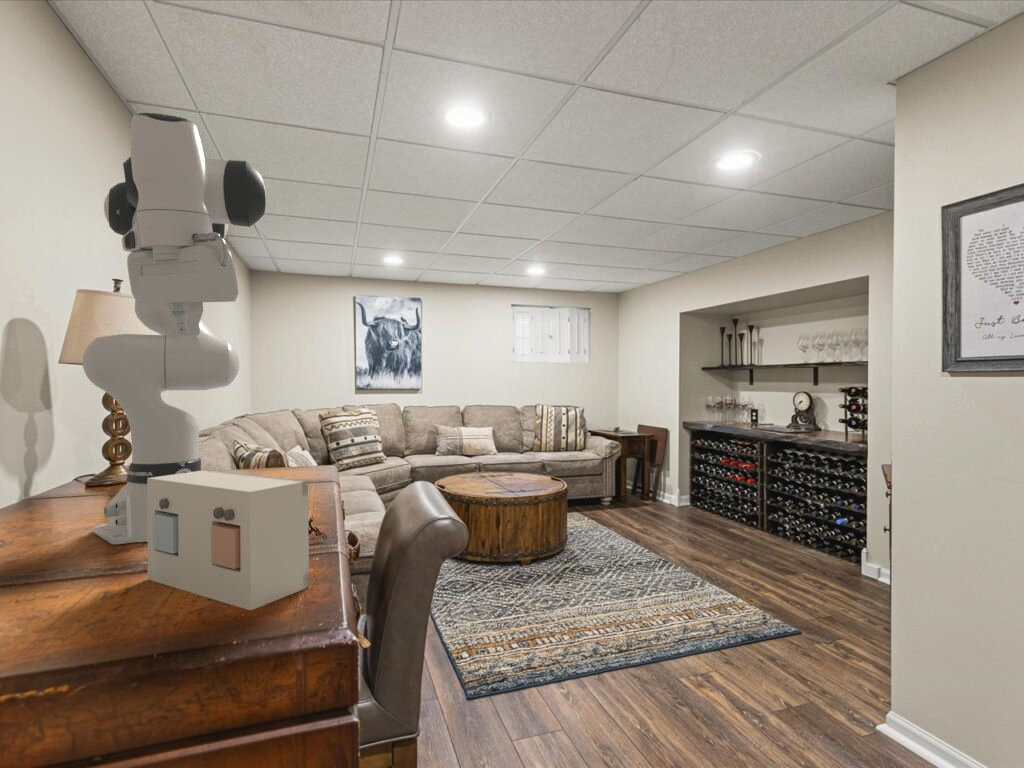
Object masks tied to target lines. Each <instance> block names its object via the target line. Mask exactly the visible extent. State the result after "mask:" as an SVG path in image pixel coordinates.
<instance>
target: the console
mask: <svg viewBox="0 0 1024 768" xmlns="http://www.w3.org/2000/svg"><path fill="white" fill-rule="evenodd" d="M163 512H169V513H174V514H178V552H177V553H169V552H165V551H161V550H157V549H154V542H153V514H157V513H163ZM219 522H223V523H228V524H234V525H239V526H240V562H241V567H240V568H236V569H233V568H229V567H225V566H221V565H217V564H213V563H211V525H215V524H219ZM147 527H148V542H147V580H149V581H152V582H155V583H159V584H162V585H165V586H167V587H168V586H169V587H172V588H174V589H178V590H181V591H185V592H188V593H191V594H194V595H198V596H201V597H205V598H207V599H210V600H214V601H216V602H217V601H218V602H221V603H224V604H227V605H231V606H234V607H237V608H240V609H244V610H247V611H253V610H255V609H259V608H260V607H263V606H265V605H268V604H270V603H273V602H276V601H278V600H280V599H282V598H286V597H288V596H290V595H293V594H295V593H298V592H300V591H303V590H305V589H308V588H309V587H310V585H309V584H310V581H309V580H310V579H309V577H310V576H309V575H310V572H309V571H310V568H309V567H310V565H309V564H310V563H309V562H310V561H309V559H310V554H309V544H310V543H309V541H310V540H309V538H310V537H309V535H308V528H309V480H305V479H304V480H303V479H302V480H301V479H295V478H286V477H277V476H268V475H267V476H266V475H260V474H259V475H257V474H246V473H239V472H230V471H221V470H220V471H219V470H212V469H204V470H202V469H201V471H195V472H188V473H181V474H174V475H167V476H159V477H152V478H147ZM307 587H308V588H307Z"/></svg>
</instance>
